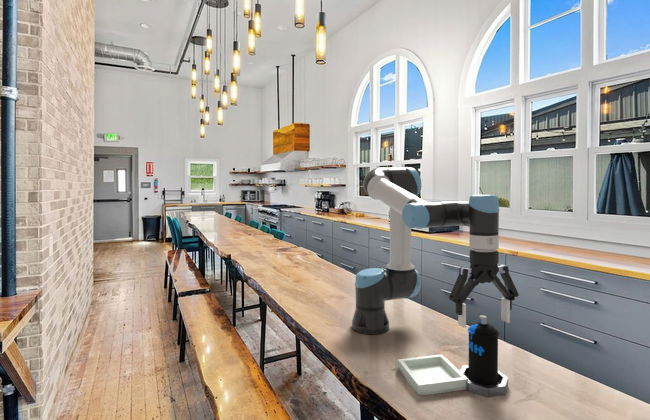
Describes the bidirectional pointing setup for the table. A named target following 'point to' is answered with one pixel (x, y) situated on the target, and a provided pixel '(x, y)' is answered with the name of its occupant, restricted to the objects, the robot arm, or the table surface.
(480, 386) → the collar
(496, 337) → the aerosol can
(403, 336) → the table surface
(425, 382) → the tray
